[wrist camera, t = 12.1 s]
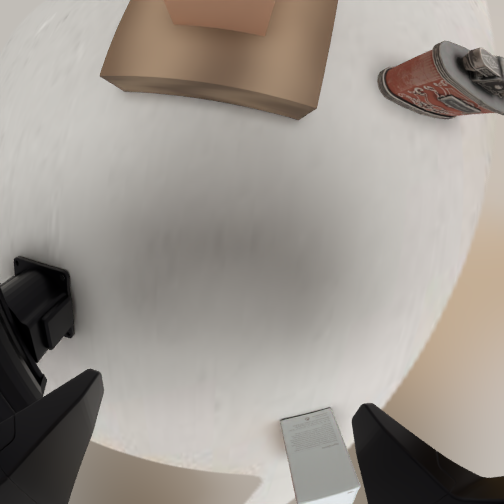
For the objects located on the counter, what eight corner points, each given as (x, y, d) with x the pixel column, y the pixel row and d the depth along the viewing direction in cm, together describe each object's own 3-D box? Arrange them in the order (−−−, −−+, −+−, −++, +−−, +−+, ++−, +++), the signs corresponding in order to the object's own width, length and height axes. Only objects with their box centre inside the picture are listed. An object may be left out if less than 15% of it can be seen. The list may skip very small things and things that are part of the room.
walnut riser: (124, 91, 15) (99, 75, 11) (175, -31, 11) (167, -59, 7) (298, 119, 16) (316, 108, 12) (326, -7, 13) (343, -33, 9)
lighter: (378, 101, 16) (477, 72, 6) (376, 62, 15) (463, 16, 5) (452, 126, 17) (543, 126, 7) (450, 91, 16) (536, 78, 6)
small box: (279, 418, 25) (296, 504, 15) (331, 405, 25) (362, 486, 15) (287, 451, 27) (301, 520, 17) (331, 440, 27) (353, 507, 17)
